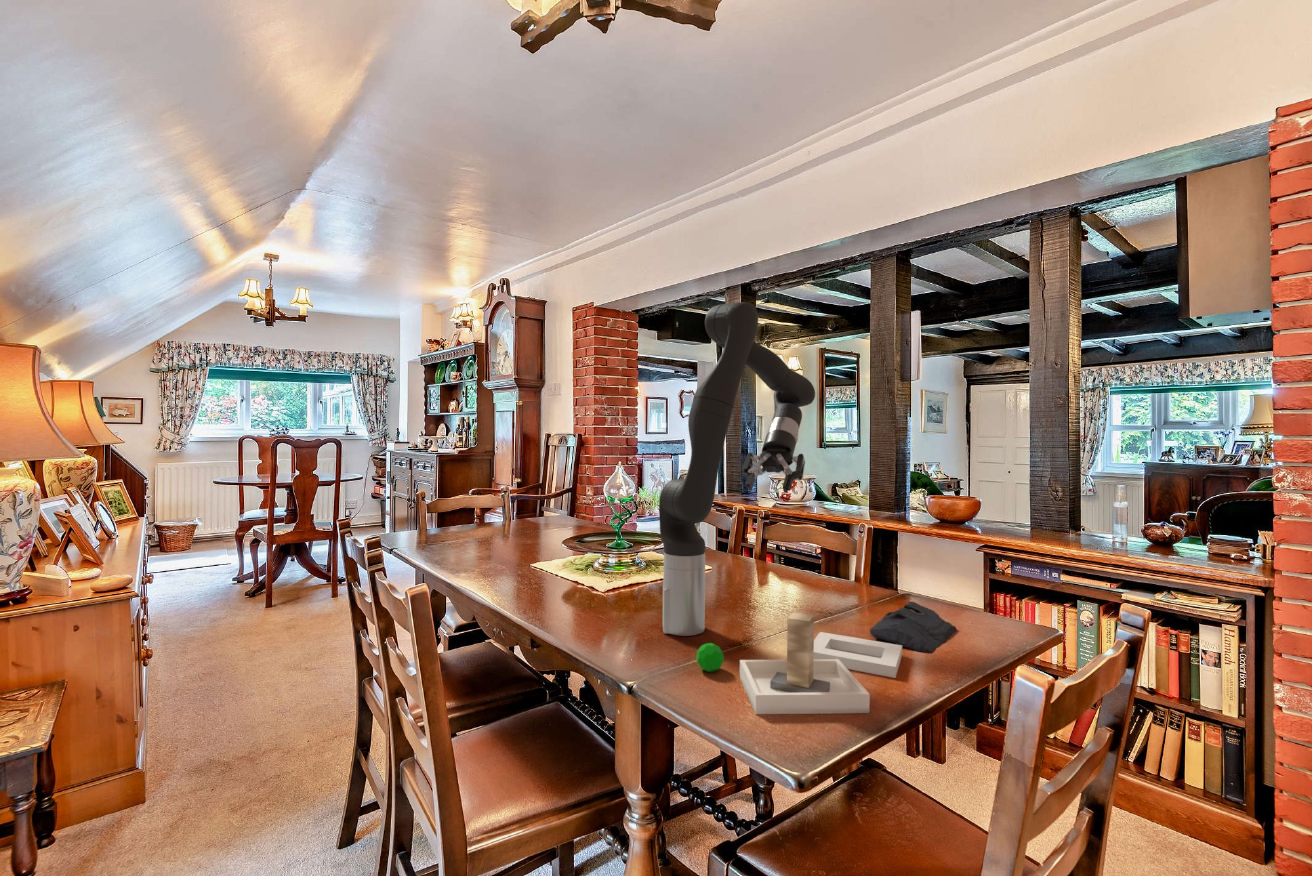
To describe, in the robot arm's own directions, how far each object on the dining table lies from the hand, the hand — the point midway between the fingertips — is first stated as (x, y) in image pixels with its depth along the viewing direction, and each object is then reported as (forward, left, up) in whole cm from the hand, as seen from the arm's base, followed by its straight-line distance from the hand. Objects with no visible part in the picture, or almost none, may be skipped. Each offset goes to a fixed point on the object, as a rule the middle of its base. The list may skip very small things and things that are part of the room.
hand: (766, 489), depth 135 cm
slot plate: (+13, -22, -31) cm, 40 cm away
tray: (-2, -37, -31) cm, 48 cm away
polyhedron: (-16, -27, -31) cm, 44 cm away
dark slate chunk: (+30, -7, -31) cm, 44 cm away
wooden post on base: (-2, -37, -30) cm, 47 cm away
